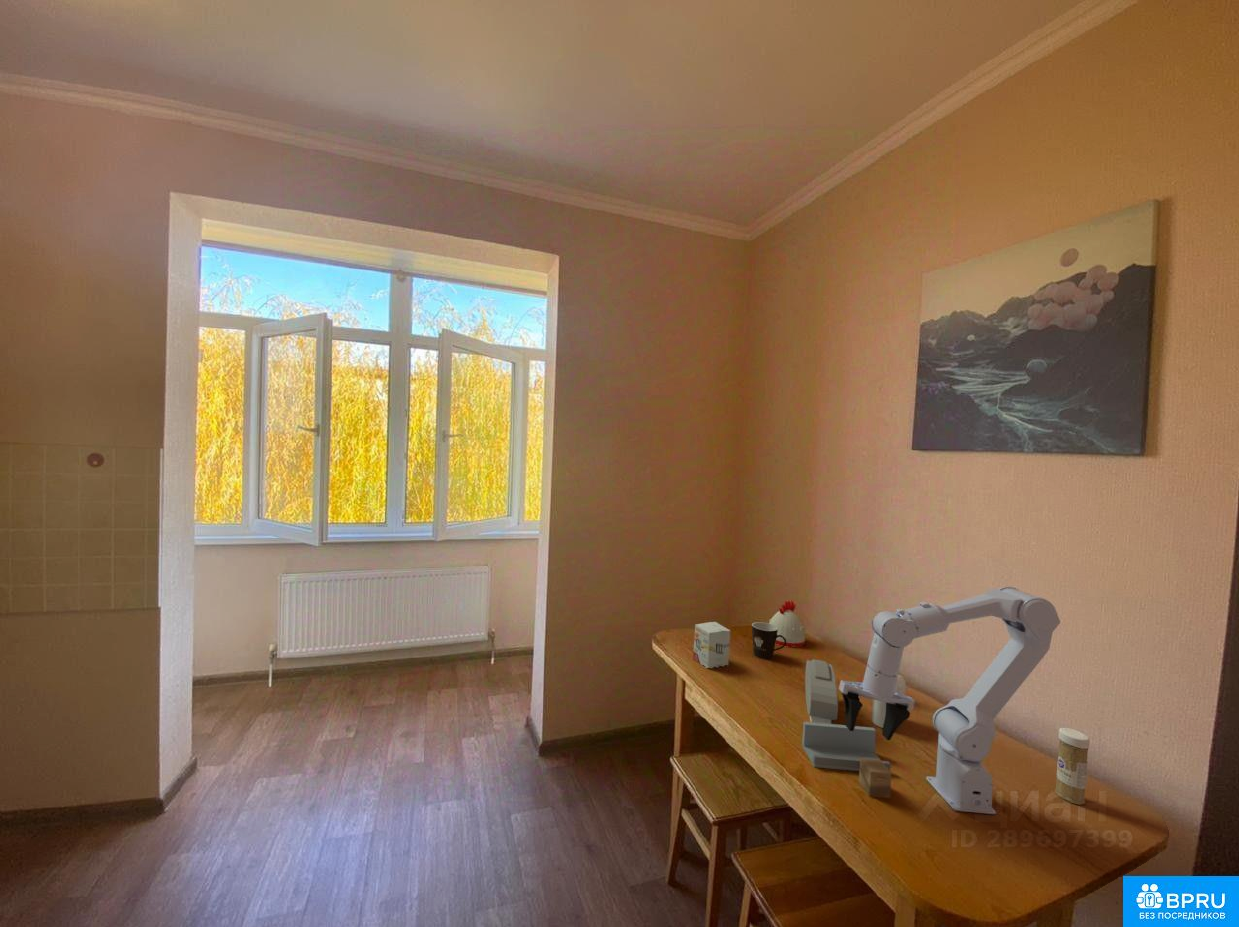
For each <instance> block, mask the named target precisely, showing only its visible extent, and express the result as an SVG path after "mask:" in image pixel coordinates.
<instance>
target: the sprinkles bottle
mask: <svg viewBox="0 0 1239 927" xmlns="http://www.w3.org/2000/svg"><path fill="white" fill-rule="evenodd" d="M1058 740H1059V744H1058V756H1057V757H1058V758H1057V763H1056V764H1057V769H1056V784H1055V786H1056V787H1055V788H1054V791H1055V793H1056V794H1057V796H1059V797H1060V798H1061V799H1063V800H1064V801H1066V802H1068V803H1072V804H1074V805H1085V804H1086V799H1085V798H1086V797H1085V796H1086V788H1087V774H1088V751H1089V748H1090V738H1089V737H1088V736H1087V734H1084V733H1083V732H1082V731H1081V732H1080V731H1078V730H1076V729H1073V728H1067V727H1060V728H1059V729H1058Z"/></svg>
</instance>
